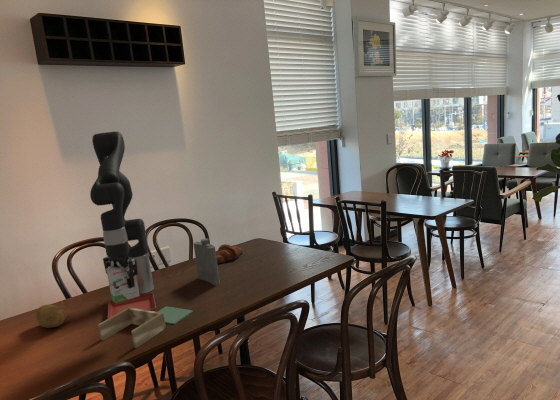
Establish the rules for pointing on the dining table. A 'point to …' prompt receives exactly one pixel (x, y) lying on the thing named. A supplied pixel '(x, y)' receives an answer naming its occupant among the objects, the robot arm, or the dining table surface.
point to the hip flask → (206, 262)
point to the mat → (174, 314)
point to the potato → (50, 316)
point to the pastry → (227, 253)
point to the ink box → (121, 285)
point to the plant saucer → (133, 304)
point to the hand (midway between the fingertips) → (124, 286)
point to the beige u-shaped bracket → (146, 319)
